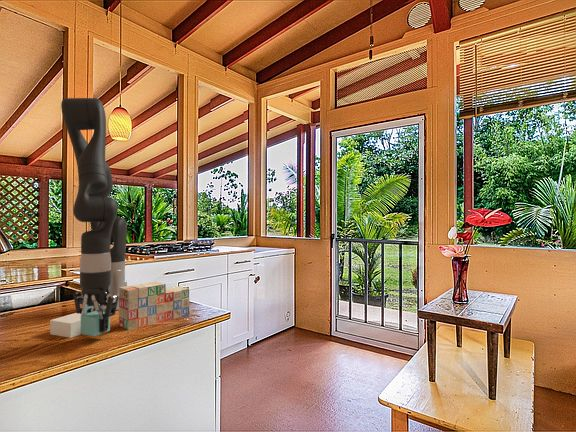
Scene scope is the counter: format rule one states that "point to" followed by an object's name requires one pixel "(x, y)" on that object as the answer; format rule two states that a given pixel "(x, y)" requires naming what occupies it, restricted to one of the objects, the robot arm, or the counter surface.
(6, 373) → the counter surface
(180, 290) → the stack of blocks
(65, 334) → the white square block
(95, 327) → the teal cube
